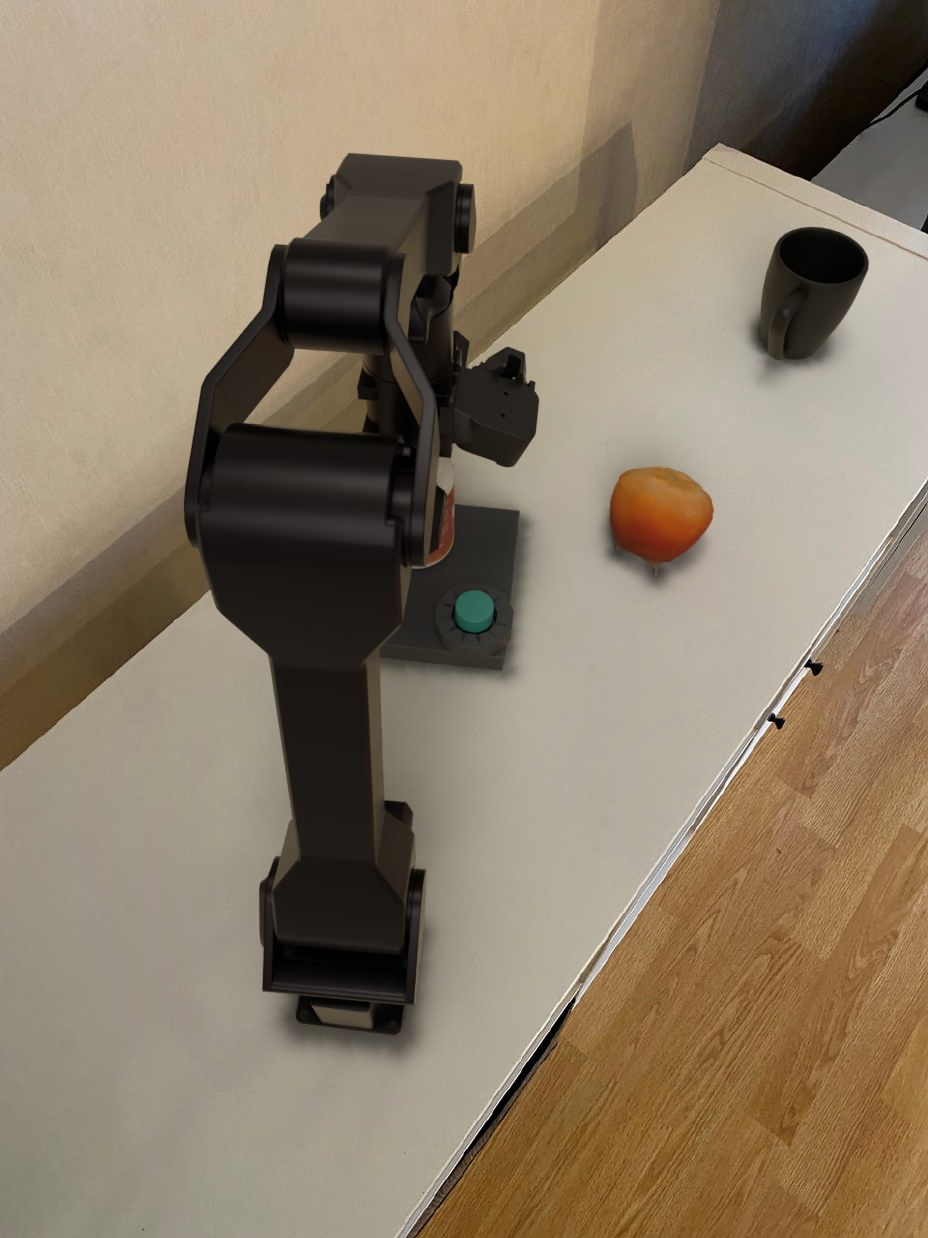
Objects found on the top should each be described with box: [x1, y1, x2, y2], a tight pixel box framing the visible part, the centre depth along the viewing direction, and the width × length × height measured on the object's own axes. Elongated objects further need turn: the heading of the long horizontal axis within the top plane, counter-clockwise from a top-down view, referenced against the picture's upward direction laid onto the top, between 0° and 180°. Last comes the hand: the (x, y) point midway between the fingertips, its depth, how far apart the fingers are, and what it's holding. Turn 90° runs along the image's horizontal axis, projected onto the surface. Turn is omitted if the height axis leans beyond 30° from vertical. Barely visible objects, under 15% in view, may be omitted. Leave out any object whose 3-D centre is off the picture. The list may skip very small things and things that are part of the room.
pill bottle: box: [412, 457, 456, 569], centre depth 72 cm, size 6×6×11 cm
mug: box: [760, 226, 870, 361], centre depth 88 cm, size 8×12×10 cm
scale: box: [379, 503, 521, 671], centre depth 75 cm, size 14×12×4 cm
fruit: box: [609, 466, 715, 578], centre depth 77 cm, size 8×8×8 cm
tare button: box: [455, 590, 494, 633], centre depth 71 cm, size 3×3×2 cm
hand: (414, 510), depth 73 cm, fingers closed on pill bottle, 6 cm apart
